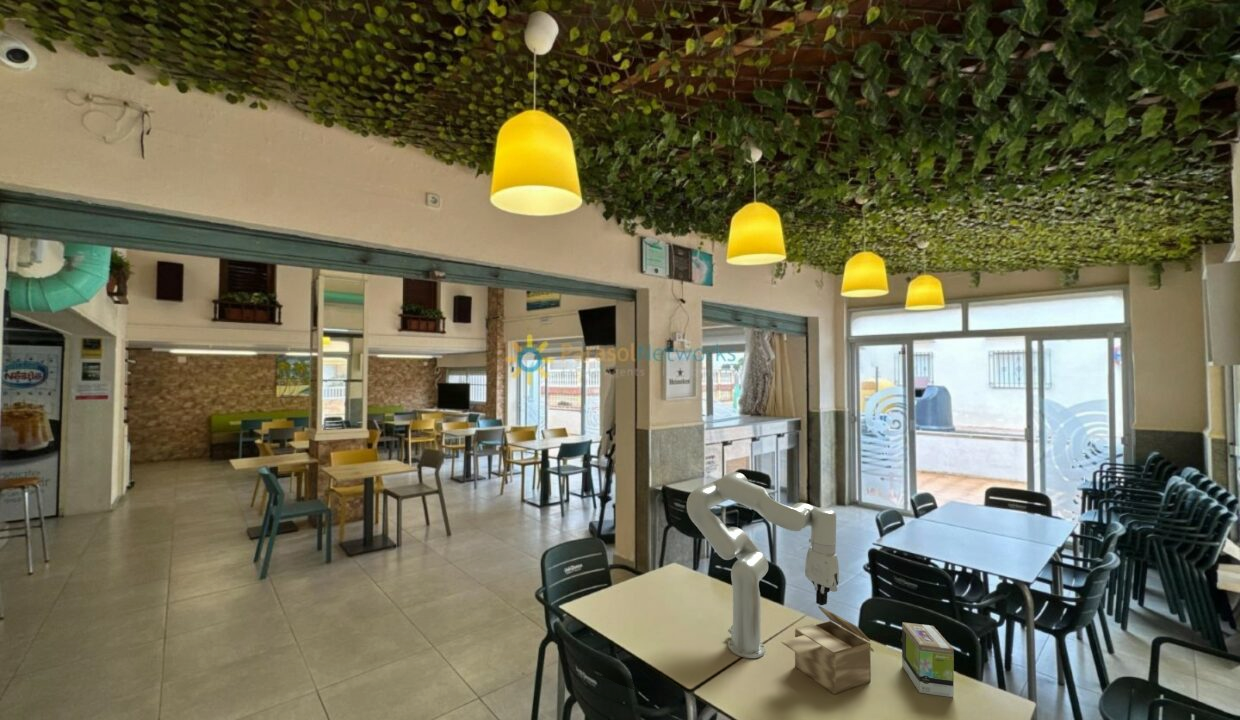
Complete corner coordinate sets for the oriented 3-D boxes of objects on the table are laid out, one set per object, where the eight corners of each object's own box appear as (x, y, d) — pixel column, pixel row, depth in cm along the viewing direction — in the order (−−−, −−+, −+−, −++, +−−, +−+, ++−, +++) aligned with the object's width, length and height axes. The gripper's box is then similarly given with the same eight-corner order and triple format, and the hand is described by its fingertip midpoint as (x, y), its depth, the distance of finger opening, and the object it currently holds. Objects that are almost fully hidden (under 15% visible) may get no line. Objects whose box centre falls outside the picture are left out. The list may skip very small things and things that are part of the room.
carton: (795, 666, 163) (795, 629, 164) (829, 655, 170) (829, 620, 170) (834, 694, 149) (834, 654, 149) (870, 681, 155) (870, 643, 156)
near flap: (851, 648, 153) (851, 646, 153) (808, 661, 145) (808, 659, 145) (813, 625, 167) (813, 623, 167) (772, 636, 159) (772, 634, 159)
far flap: (818, 607, 168) (818, 605, 168) (845, 635, 173) (845, 634, 173) (856, 628, 154) (857, 626, 154) (885, 658, 159) (885, 657, 159)
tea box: (955, 698, 148) (954, 648, 148) (918, 693, 150) (918, 644, 150) (934, 669, 163) (933, 624, 163) (900, 665, 165) (900, 620, 165)
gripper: (796, 541, 165) (795, 596, 164) (835, 557, 152) (833, 616, 151) (812, 538, 168) (810, 592, 168) (850, 553, 155) (849, 611, 155)
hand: (821, 603), depth 160 cm, fingers closed
